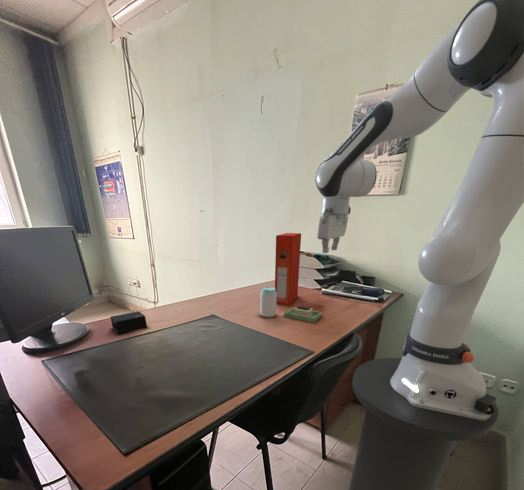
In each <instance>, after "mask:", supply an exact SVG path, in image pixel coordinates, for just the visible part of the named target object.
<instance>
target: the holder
mask: <svg viewBox="0 0 524 490" xmlns="http://www.w3.org/2000/svg"><path fill="white" fill-rule="evenodd" d="M296 307H297V306H296ZM296 307H295V306H293V307H292V308H290V309H289V310H287V311H285V312H284V318H288V319H293V320H297V321H301V322H302V321H303V322H307V323H311V324H314V323H316V322H317V321H318V320H319V319H321V318H322V316H323V312H322V311H317V310H313V315H312V316H311V317H307V316H302V315H297V314H294V309H295V308H296Z"/></svg>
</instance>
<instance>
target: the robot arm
mask: <svg viewBox="0 0 524 490" xmlns="http://www.w3.org/2000/svg"><path fill="white" fill-rule="evenodd" d="M471 90H474V91H476V92H477V93H479V94H481V95H482V96H484V97H487V98H490V99H493V108H492V112H491V113H490V114H491V115H490V118H489V119H488V121H487V124H486V126H485V128H484V130H483V133H482V134H481V137H480V139H479V141H478V143H477V147H476V149H475V151H474V152H473V155H472V158H471V160H470V162H469V164H468V167H467V169H466V171H465V174H464V175H463V177H462V180H461V182H460V185H459V187H458V188H457V190H456V192H455V194H454V196H453V197H452V200H451V201H450V203H449V205H448V206H447V208H446V209H445V211H444V212H443V215H442V216H441V218H440V219H439V221H438V222H437V225H436V227H435V229H434V230H433V232H432V234H431V236H430V238H429V239H428V241H426V243H425V244H424V246H422V248H421V250H420V252H419V255H418V260H417V264H418V265H417V266H418V269H419V272H420V274H421V275H422V277H423V278H424V279H425V280H426V281H428V282H427V283H428V284H427V285H426V288H425V290H424V292H423V295H422V296H421V297H420V299H419V301H418V302H417V305H416V309H415V313H414V316H413V319H412V320H413V321H412V324H411V327H410V331H409V332H408V333H407V335H406V337H405V339H404V340H405V341H404V344H403V348H402V356H401V358H402V359H401V362H400V364H399V366H398V368H397V370H396V372H395V373H394V375H393V376H392V378H391V379H390V384H391V386H392V387H393V389H394V390H395V391H396V392H398V393H399V394H400V395H402V396H404V397H405V398H406V399H407V400H408V401H409V402H410V404H412V405H413V406H415V407H419V408H423V409H428V410H433V411H438V412H443V413H448V414H453V415H458V416H463V417H468V418H473V419H478V420H487V419H489V418H490V417H491V414H493V413H494V411H495V409H494V407H493V405H494V403H496V401H497V397H496V396H493V395H490V393H488V394H486V392H487V384H486V380H485V378H484V376H483V375H482V373H481V372H479V370H478V369H477V368H475V366H473V364H471V363H473V361H474V354H473V353H472V352H471V348H470V347H469V345H468V344H467V343H464V340H465V337H466V334H467V332H468V329H469V326H470V323H471V320H472V317H473V315H474V313H475V311H476V308H477V306H478V304H479V302H480V300H481V297H482V296H483V293H484V291H485V289H486V287H487V285H488V282H489V280H490V278H491V275H492V273H493V270H494V268H495V266H496V264H497V261H498V259H499V256H500V253H501V249H502V246H501V245H502V244H501V238H502V237H503V235H504V233H505V232H506V230H507V229H508V227H509V225H510V224H511V223H512V221H513V219H514V218H515V217H516V214H517V213H518V212H519V210H520V209H521V207H522V205H523V204H524V0H478V1H477V2H476V3H475V4H474V5H473V6H472V7H471V8H470V9H469V11H468V12H467V13H466V15H465V16H464V17H463V18H462V19H461V20H460V21H459V22H458V23H457V24H455V26H453V28H452V29H451V30H450V31H448V32H447V33H446V35H444V37H442V38H441V40H440V41H438V42H437V44H436V46H434V47H433V49H431V51H430V52H429V53H428V55H427V56H425V58H424V59H423V60H422V61H421V63H420V64H419V65H418V67H417V68H416V69H415V70H414V72H413V73H412V74H411V76H410V77H408V79H407V80H406V81H405V82H404V83H403V84H402V85H401V86H400V87H399V88H398V89H397V90H396V91H395V92H394V93H392V94H391V95H390V96H389V97H388V98H387V99H385V100H384V101H383V102H381V103H379V104H378V105H376V106H375V107H374V108H373V109H372V110H370V112H368V114H366V115H365V117H364V118H363V119H362V120H361V121H360V123H358V125H357V126H356V127H355V128H354V129H353V130H352V131H351V133H349V135H348V136H347V137H345V140H343V142H341V144H340V145H339V146H338V147H337V148H336V150H334V151H333V152H332V153H330V154H329V155H328V156H326V157H325V158H324V159H323V160H322V161H321V163H320V164H319V166H318V168H317V170H316V172H315V185H316V188H317V190H318V192H319V193H320V194H321V196H322V202H321V203H322V204H321V212H320V213H321V215H320V217H319V220H318V226H317V234H316V235H317V239H318V240H321V245H322V253H323V254H328V253H329V252H330V247H329V244H330V241H331V240H332V244H331V251H337V250H338V246H339V242H340V239H341V237H344V236H345V235H346V232H347V226H348V221H349V216H350V215H351V211H352V208H351V206H350V200H351V198H352V197H353V198H360V197H364V196H367V195H368V194H370V192H371V191H372V190H373V188H374V187H375V184H376V181H377V177H378V176H377V175H378V173H377V168H376V165H375V164H374V163H373V162H372V161H370V160H367V159H364V158H363V157H364V155H365V154H367V153H368V152H369V151H370V150H371V149H373V148H375V146H377V145H380V144H382V143H385V142H388V141H393V140H398V139H399V140H400V139H404V138H405V139H406V138H412V137H416V136H420V135H421V134H423V133H425V132H426V131H428V130H429V129H431V128H432V127H433V126H435V125H436V124H437V123H438V122H439V121H441V119H442V118H444V116H445V115H446V114H447V113H448V112H449V111H450V110H451V109H452V108H453V107H454V105H455V104H456V103H458V101H459V100H460V99H461V98H462V97H463V96H464V95H465V94H466V93H467V92H469V91H471Z"/></svg>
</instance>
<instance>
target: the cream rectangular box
mask: <svg viewBox="0 0 524 490" xmlns="http://www.w3.org/2000/svg"><path fill="white" fill-rule="evenodd" d="M313 311H314V308H313V307H312V308H311V306H306V305H302V304H300V305H298V306H296V308H295V309H294V314H297V315H302V316H307V317H311V316H312V315H313Z"/></svg>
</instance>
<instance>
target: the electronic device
mask: <svg viewBox="0 0 524 490" xmlns="http://www.w3.org/2000/svg"><path fill="white" fill-rule="evenodd" d="M110 322H111V326H112V329H113V330H114V331H115V333H116V334H117V335H120V334H121V335H122V334H125V333H130V332H134V331H138V330H144V329H148V325H147V324H148V323H147V318H146V315H144V314H143V313H142V312H141V311H139V310H138V311H134V312H133V311H132V312H128V313H122V314H117V315H111V316H110Z"/></svg>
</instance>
